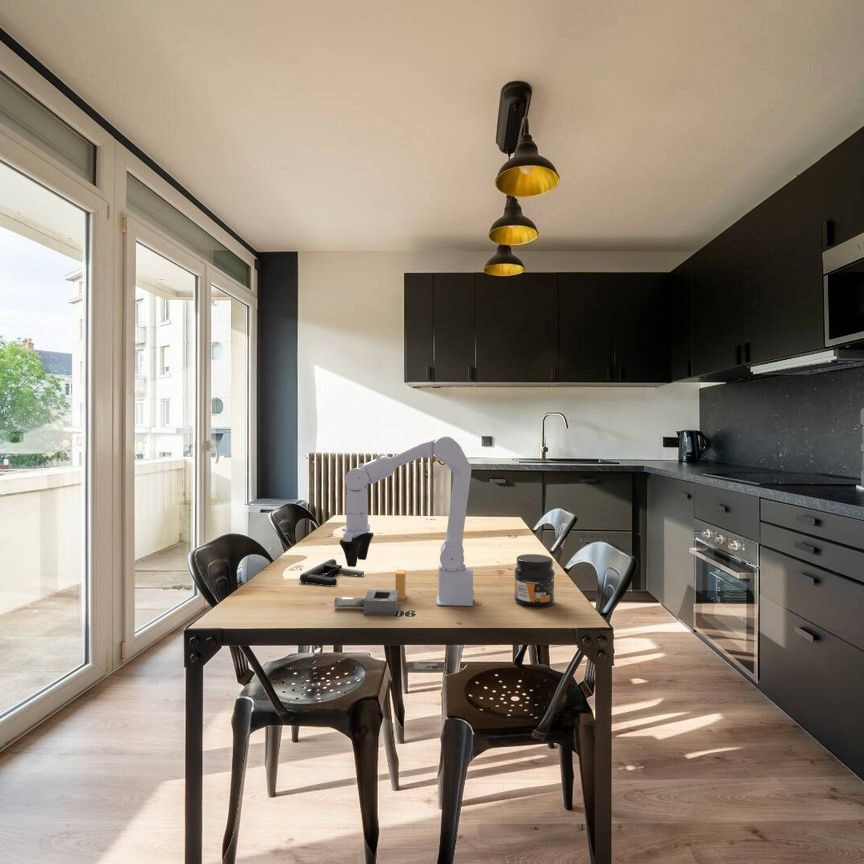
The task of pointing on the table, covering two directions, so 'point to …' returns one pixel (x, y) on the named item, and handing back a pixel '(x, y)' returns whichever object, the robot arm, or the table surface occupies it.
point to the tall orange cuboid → (401, 583)
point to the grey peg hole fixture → (373, 602)
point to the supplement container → (534, 581)
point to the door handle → (331, 571)
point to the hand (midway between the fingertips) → (357, 562)
